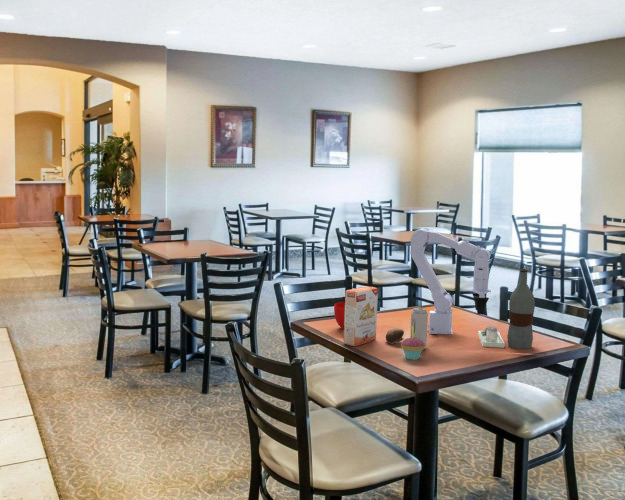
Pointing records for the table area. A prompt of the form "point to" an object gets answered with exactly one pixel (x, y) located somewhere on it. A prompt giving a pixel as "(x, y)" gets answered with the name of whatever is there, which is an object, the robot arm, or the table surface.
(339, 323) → the ceramic cup
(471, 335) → the table surface
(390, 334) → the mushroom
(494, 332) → the shaker
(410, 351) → the cupcake
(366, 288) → the cracker box
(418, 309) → the energy drink can
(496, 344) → the tray
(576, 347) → the table surface
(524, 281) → the bottle
